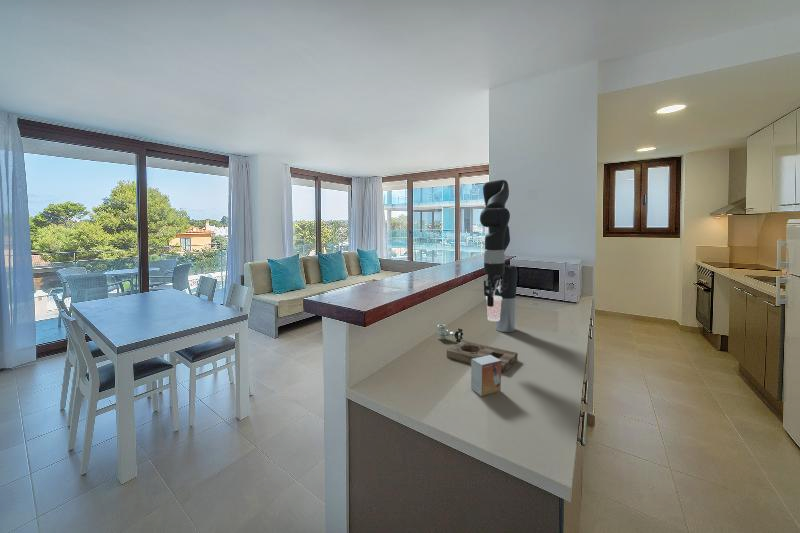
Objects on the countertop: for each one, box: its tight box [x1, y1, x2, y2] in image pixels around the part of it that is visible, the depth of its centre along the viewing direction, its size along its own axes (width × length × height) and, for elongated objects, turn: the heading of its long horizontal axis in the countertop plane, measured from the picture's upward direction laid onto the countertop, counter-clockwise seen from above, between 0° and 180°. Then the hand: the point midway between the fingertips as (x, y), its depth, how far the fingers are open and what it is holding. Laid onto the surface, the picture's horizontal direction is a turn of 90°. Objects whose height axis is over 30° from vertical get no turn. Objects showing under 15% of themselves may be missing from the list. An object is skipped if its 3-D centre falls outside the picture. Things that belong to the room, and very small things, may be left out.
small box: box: [470, 355, 502, 397], centre depth 104 cm, size 8×6×10 cm
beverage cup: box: [485, 292, 502, 322], centre depth 123 cm, size 6×6×14 cm
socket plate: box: [446, 339, 519, 374], centre depth 128 cm, size 14×24×3 cm, turn 50°
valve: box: [436, 323, 464, 343], centre depth 150 cm, size 7×7×12 cm
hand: (493, 304), depth 123 cm, fingers closed on beverage cup, 6 cm apart
